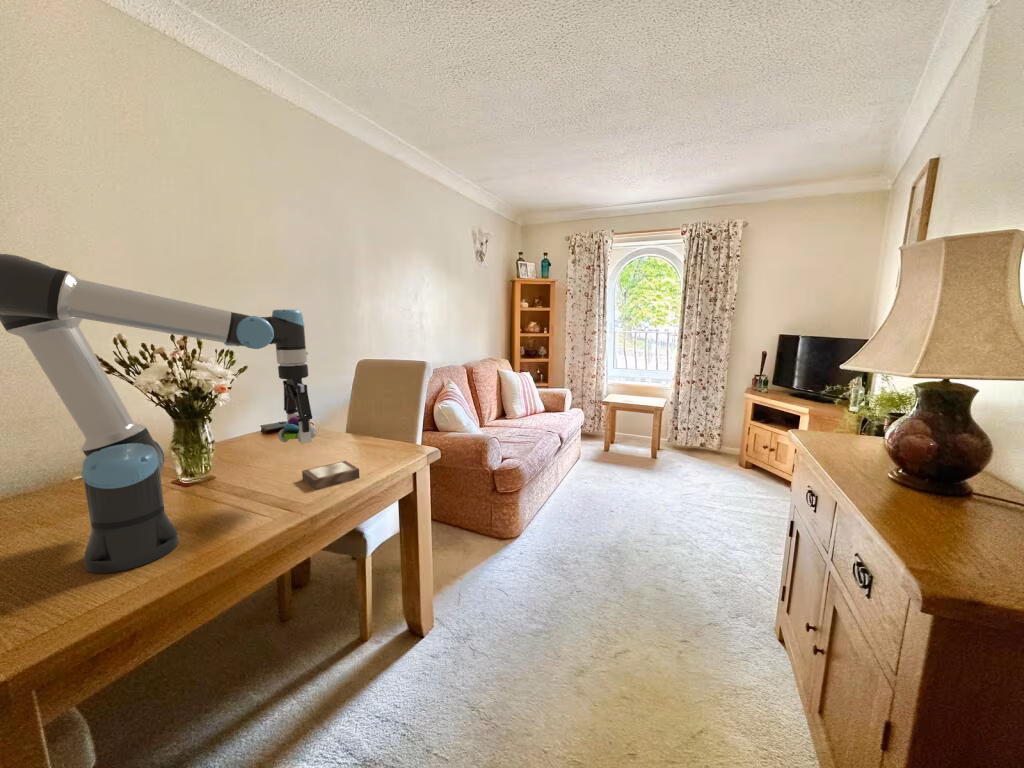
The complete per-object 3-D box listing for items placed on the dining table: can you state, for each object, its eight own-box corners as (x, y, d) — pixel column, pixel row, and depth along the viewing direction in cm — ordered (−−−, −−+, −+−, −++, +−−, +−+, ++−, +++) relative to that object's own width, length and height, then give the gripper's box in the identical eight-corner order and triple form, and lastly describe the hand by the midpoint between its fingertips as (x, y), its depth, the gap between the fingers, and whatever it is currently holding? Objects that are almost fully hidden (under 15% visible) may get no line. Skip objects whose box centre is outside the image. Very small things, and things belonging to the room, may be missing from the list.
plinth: (315, 489, 124) (314, 479, 124) (302, 479, 132) (302, 470, 131) (359, 477, 134) (359, 468, 133) (345, 469, 142) (345, 460, 141)
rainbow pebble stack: (321, 435, 124) (319, 412, 123) (302, 445, 115) (299, 420, 113) (295, 434, 125) (293, 411, 124) (274, 444, 116) (271, 420, 114)
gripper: (320, 366, 111) (327, 444, 114) (294, 360, 127) (301, 428, 131) (290, 368, 106) (298, 450, 109) (267, 362, 122) (275, 433, 126)
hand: (299, 438), depth 120 cm, fingers closed on rainbow pebble stack, 10 cm apart
